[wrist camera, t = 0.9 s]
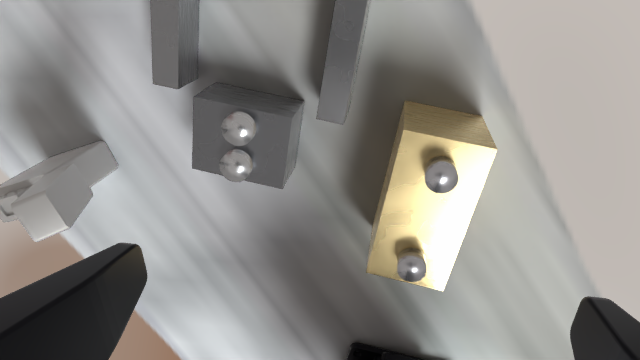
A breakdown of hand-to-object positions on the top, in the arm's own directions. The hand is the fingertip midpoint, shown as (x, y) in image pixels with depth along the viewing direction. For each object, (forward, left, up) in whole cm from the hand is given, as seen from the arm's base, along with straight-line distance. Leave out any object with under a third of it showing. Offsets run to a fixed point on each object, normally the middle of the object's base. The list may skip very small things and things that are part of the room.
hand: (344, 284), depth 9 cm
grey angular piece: (-6, +14, -13) cm, 20 cm away
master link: (-3, -3, -13) cm, 14 cm away
